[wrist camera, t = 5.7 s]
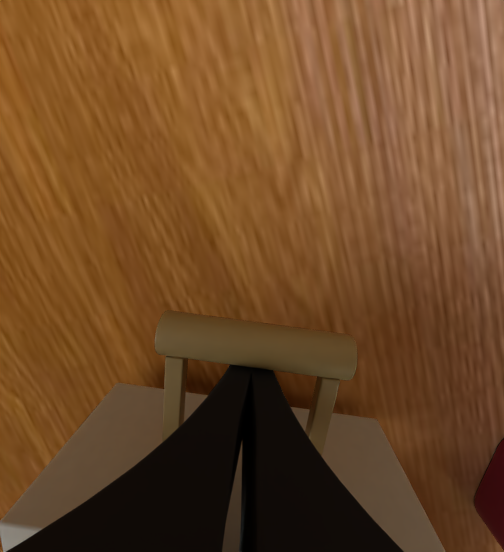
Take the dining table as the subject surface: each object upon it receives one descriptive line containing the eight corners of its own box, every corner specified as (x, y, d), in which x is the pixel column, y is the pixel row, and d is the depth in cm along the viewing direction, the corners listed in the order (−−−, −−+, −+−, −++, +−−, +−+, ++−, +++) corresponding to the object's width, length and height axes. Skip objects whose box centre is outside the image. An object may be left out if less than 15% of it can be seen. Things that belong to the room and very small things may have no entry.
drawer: (115, 275, 11) (-39, 345, 6) (408, 313, 11) (560, 428, 5) (120, 580, 16) (44, 775, 11) (319, 611, 16) (347, 827, 10)
